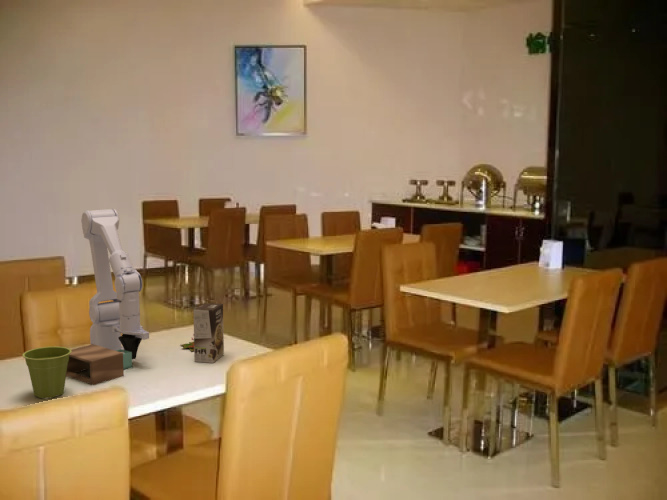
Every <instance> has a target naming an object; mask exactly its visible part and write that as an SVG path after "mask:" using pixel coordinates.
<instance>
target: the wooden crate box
mask: <svg viewBox="0 0 667 500" xmlns="http://www.w3.org/2000/svg"><path fill="white" fill-rule="evenodd" d="M71 350H72V352H71V354H70V355H69V361H68V364H67V371H66V377H69V378H72V379H75V380H77V381H80V382H82V383H87V384H89V385H92V386H96V385H99V384H101V383H104V382H108V381H110V380H114V379H117V378H120V377H121V378H122V377H123V376H125V375H124V374H125V369H124V368H123V353H122V352H118V351H115V350H111V349H108V348H104V347H101V346H97V345H94V344H91V343H90V344H88V345H84V346H80V347H77V348H72V349H71ZM86 370H89V373H90V374H89V376H90V377H88V376H85V375H82V374H79V372H82V371H86Z"/></svg>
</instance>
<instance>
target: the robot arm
mask: <svg viewBox="0 0 667 500" xmlns="http://www.w3.org/2000/svg"><path fill="white" fill-rule="evenodd" d="M119 225H120V215H119V213H118V210H117V209H115V208H110V209H109V208H107V209H94V210H88V209H86V210H84V211H83V212H82V215H81V229H82V233H83V238H84V239H86V240H88V241H89V247H90V251H91V252H90V253H91V260H92V266H93V273H94V280H95V286H96V293H95V294H94V295H93V296H92V297H91V298H90V300H89V303H88V304H89V305H88V306H89V311H88V314H89V319H90V321H91V323H92V324H91V326H90V329H89V340H90V342H89V343H90V345H91V344H94V345H97V346H101V347H104V348H108V349H111V350H115V351H116V350H119V349H123V350H126V351H130V352H132V361H133V360H136V359H137V355H138V349H139V347H140V345H141V342H142V340H143V341H145V340H149V339H150V332H149V331H147V330H146V329H144V326H142V325H141V312H140V309H141V308H140V307H141V306H140V292H141V291H142V289H143V279H142V276H141V274H140V272H138V271H137V268H136V269H135V268H134V266H133V263H132V260H131V258H130V256H129V253H127V252H126V251H124V250H123V247H122V243H121V240H120V237H119V233H118V232H119V231H118V229H119ZM109 254H110V256H109ZM111 269H112V271H111ZM111 272H112V273H113V275H114V278H115V279H114V282H113V277H112V273H111ZM113 283H114V284H113ZM113 285H114V286H113ZM114 289H115V290H114Z"/></svg>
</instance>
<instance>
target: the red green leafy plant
mask: <svg viewBox="0 0 667 500" xmlns="http://www.w3.org/2000/svg"><path fill="white" fill-rule="evenodd" d="M192 336H194V333H193V334H192ZM191 340H192V341H189V342H188V343H183V344H181V346H183V347H182V348H181V350H184V349H187V348H189V350H190V352H194V337H191Z"/></svg>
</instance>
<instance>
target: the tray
mask: <svg viewBox="0 0 667 500" xmlns="http://www.w3.org/2000/svg"><path fill="white" fill-rule="evenodd" d="M116 351H118V352H122V353H123V368H124V370H127V369H131V368H133V360H132V352H130V351H126V350H123V349H119V350H116Z"/></svg>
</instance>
